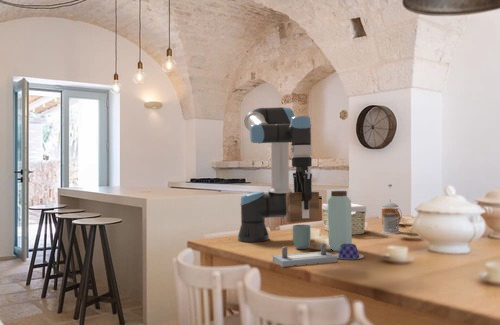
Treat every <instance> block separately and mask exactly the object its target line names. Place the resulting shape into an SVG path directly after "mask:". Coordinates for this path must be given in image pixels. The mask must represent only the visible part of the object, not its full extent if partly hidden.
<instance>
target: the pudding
mask: <svg viewBox="0 0 500 325" xmlns="http://www.w3.org/2000/svg"><path fill="white" fill-rule="evenodd" d="M338 252H339V253H335V254H334V255H335V256H337V259H340V260H359V259H363V258H364V257H365V255H364V254H361V253H359V251H358V247H357V245H356V244H354V243H352V244H342V245H341V247H340V251H338Z"/></svg>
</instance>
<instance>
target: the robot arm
mask: <svg viewBox="0 0 500 325" xmlns="http://www.w3.org/2000/svg"><path fill="white" fill-rule="evenodd" d="M311 122H312V121H311V118H310V117H309V116H308V115H297V116H296V115H295V114H294V111H293V109H292V108H291V107H280V106H279V107H258V108H255V109H253V110H251V111H248V113H247V114H246V115H245V117H244V122H243V124H244V126H245V128H246V129H247V130H248V131H249V139H250V142H251V143H253V144H270V149H271V150H270V151H271V155H270V156H271V160H270V162H271V167H270V168H271V169H270V170H271V179H270V180H271V183H270V184H271V187H270V188H269V189H268V190H267V191H268V192H267V193H266V194H265V192H264V191H262V190H261V191H253V192H248V193H244V194H242V195H241V197H240V218H241V220H240V221H241V224H240V229H239V232H238V235H237V240H238V241H239V242H244V243H256V242H257V243H258V242H259V243H260V242H265V241H269V240H270V237H269V236H270V235H269V231H268V228H267V225H266V221H265V219H267V218H271V219H273V218H286V193H294V192H302V200H301V201H302V218H303V219H304V218H309V201H310V200H311V199H312V192H313V191H312V189H313V188H312V178H313V174H312V173H313V172H310V173H309V167H311V168H312V164H313V163H312V161H313V160H312V157H311V156H312V128H311V127H312V124H311ZM290 143H291V148H290ZM289 149H290V150H289ZM290 151H291V156H292V157H291V166H292V167H293V168H295V172H292V178H293V190H292V188H291V187H290V165H289V164H290Z"/></svg>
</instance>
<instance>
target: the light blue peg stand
mask: <svg viewBox="0 0 500 325" xmlns="http://www.w3.org/2000/svg"><path fill="white" fill-rule="evenodd" d="M272 262H274V263H276V264H277V265H279V266H280V267H282V268H284V267H295V266H294V265H297V266H305V265H306V264H307V265H315V264H316V265H317V263H318V264H325V263H326V264H327V263H328V264H329V263H336V262H338V258H337V256H335V254H332V253H331V252H328V251H327V244H326V243H320V251H313V252H301V253H288V246H282V247H281V254H277V255H272Z"/></svg>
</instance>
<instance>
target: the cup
mask: <svg viewBox="0 0 500 325" xmlns="http://www.w3.org/2000/svg"><path fill="white" fill-rule="evenodd" d="M292 241H293V246H294V247H295V249H297V250H307V249H308V248H309V247H310V245H311V225H310V224H294V225H292Z"/></svg>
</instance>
